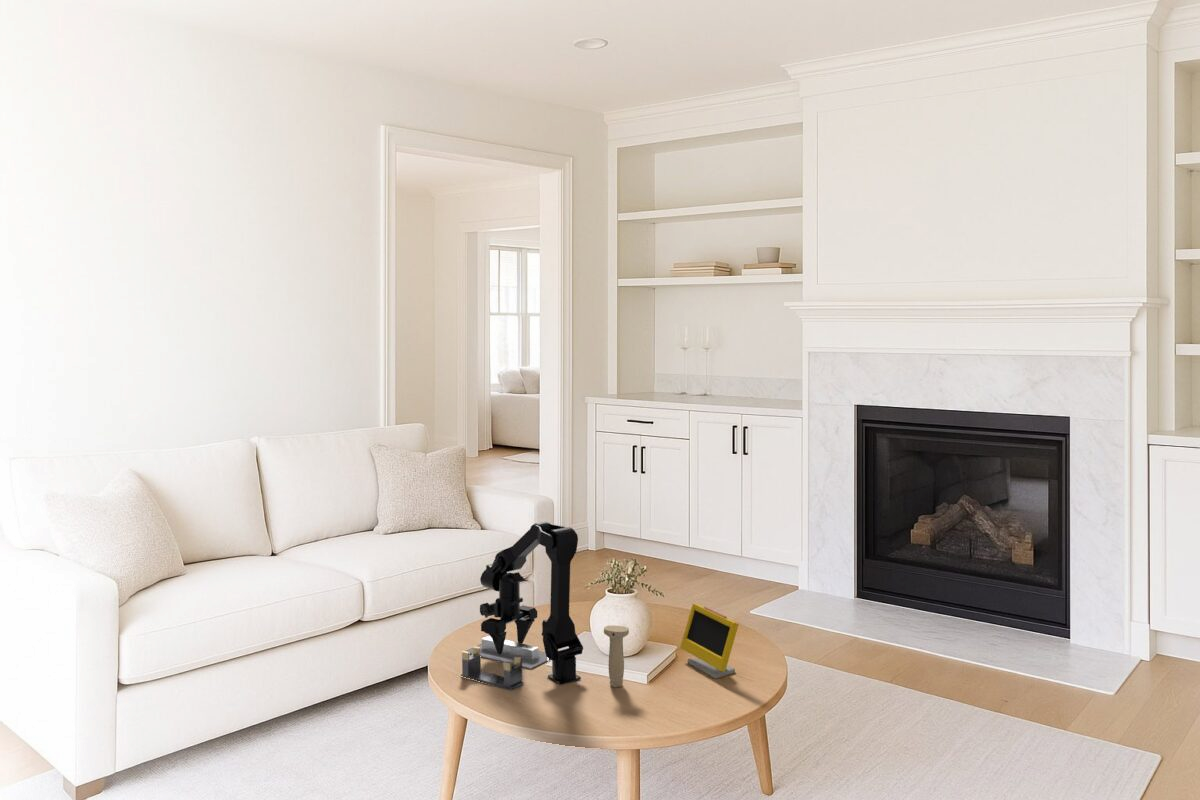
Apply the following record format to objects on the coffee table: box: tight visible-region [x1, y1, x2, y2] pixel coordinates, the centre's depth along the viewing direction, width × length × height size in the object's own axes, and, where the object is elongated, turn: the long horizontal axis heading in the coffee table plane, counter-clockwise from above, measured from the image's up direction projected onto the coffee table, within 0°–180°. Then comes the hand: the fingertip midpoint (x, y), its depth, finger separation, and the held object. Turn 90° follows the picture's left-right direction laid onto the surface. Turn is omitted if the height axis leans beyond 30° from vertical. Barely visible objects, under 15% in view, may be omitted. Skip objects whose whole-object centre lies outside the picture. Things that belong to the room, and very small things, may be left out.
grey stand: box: [460, 646, 525, 692], centre depth 247 cm, size 17×5×7 cm, turn 57°
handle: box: [603, 624, 630, 688], centre depth 243 cm, size 5×6×15 cm
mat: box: [464, 643, 548, 671], centre depth 267 cm, size 24×12×1 cm, turn 57°
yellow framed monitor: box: [680, 602, 739, 680], centre depth 255 cm, size 20×8×16 cm, turn 27°
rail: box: [481, 635, 540, 661], centre depth 267 cm, size 18×3×3 cm, turn 57°
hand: (510, 649), depth 267 cm, fingers open, 9 cm apart
